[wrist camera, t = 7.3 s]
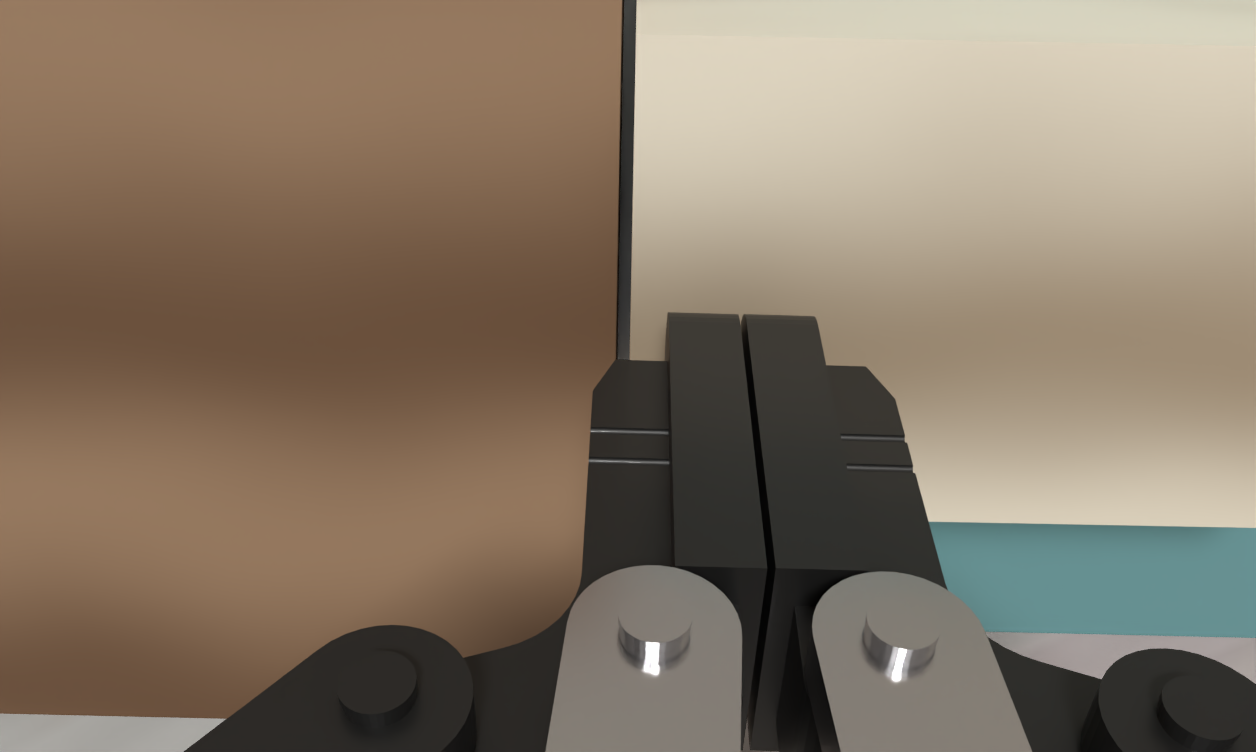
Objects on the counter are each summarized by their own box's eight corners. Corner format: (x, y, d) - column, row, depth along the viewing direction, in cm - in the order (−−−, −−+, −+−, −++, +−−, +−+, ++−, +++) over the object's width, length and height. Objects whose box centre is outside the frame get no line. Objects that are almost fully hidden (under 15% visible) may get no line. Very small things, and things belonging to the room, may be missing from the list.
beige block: (637, -66, 13) (636, 34, 11) (1449, -51, 13) (1629, 52, 11) (629, 367, 17) (626, 515, 14) (1265, 380, 17) (1369, 529, 14)
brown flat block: (-926, -649, 11) (-1288, -680, 9) (635, -608, 11) (633, -628, 9) (-207, 586, 20) (-300, 706, 18) (612, 604, 20) (609, 727, 18)
